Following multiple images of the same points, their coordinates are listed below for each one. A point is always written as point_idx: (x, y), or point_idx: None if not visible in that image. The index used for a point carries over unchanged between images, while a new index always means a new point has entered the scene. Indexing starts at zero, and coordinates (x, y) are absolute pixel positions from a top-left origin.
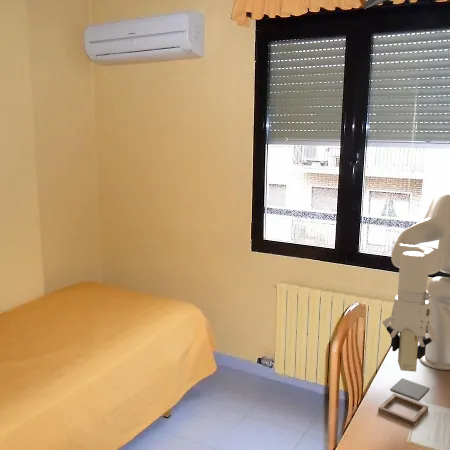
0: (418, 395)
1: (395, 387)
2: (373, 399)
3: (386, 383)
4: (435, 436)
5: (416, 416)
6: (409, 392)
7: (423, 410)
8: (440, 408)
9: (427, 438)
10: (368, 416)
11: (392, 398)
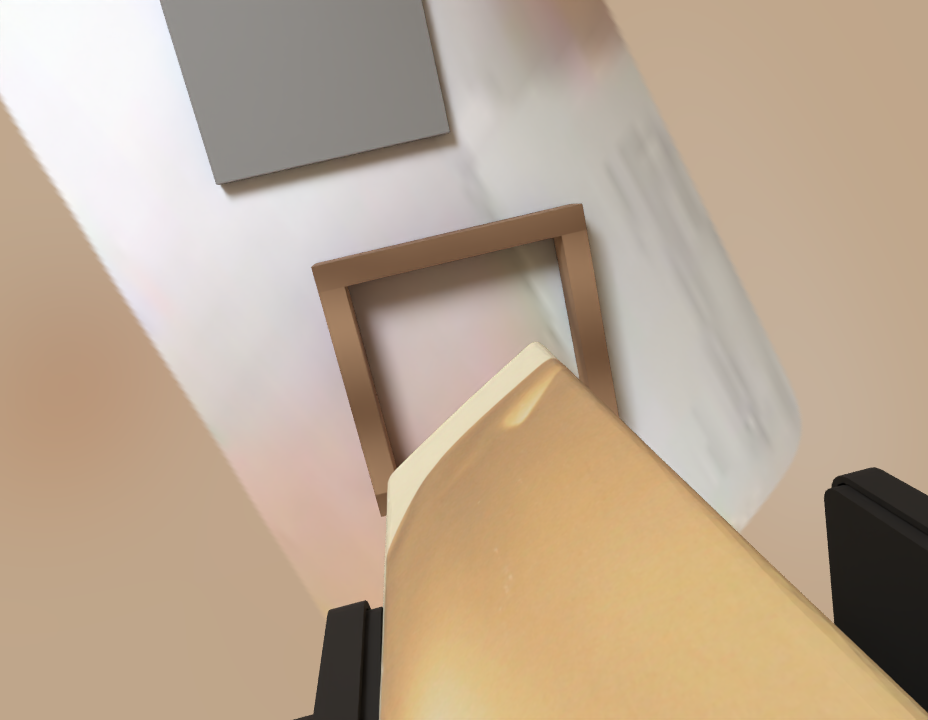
0: (418, 81)
1: (225, 130)
2: (250, 407)
3: (120, 116)
4: (742, 411)
5: (600, 387)
6: (345, 101)
7: (590, 283)
8: (608, 89)
9: (722, 465)
10: (379, 583)
11: (357, 339)
